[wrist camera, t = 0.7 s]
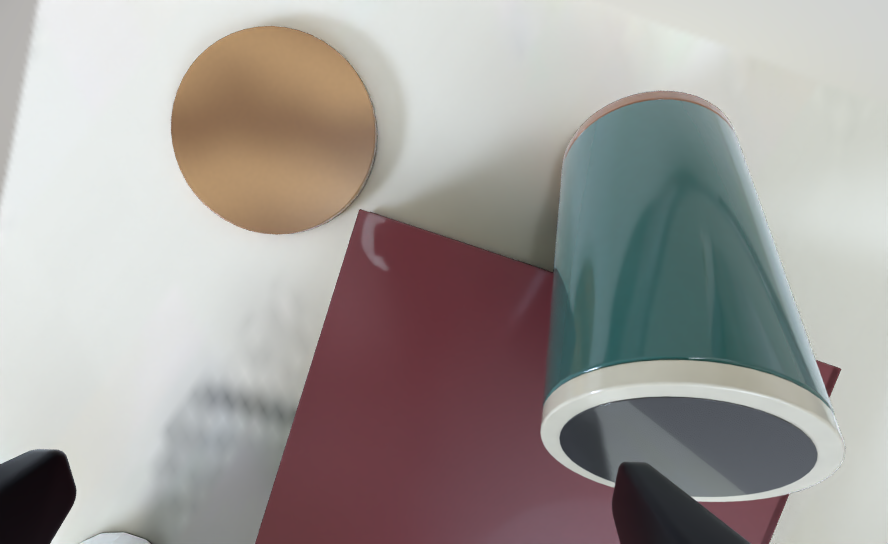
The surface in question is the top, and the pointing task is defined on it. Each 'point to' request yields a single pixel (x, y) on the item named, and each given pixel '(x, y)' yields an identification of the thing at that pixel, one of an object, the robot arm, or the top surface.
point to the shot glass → (115, 539)
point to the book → (441, 410)
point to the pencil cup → (677, 314)
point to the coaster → (274, 130)
